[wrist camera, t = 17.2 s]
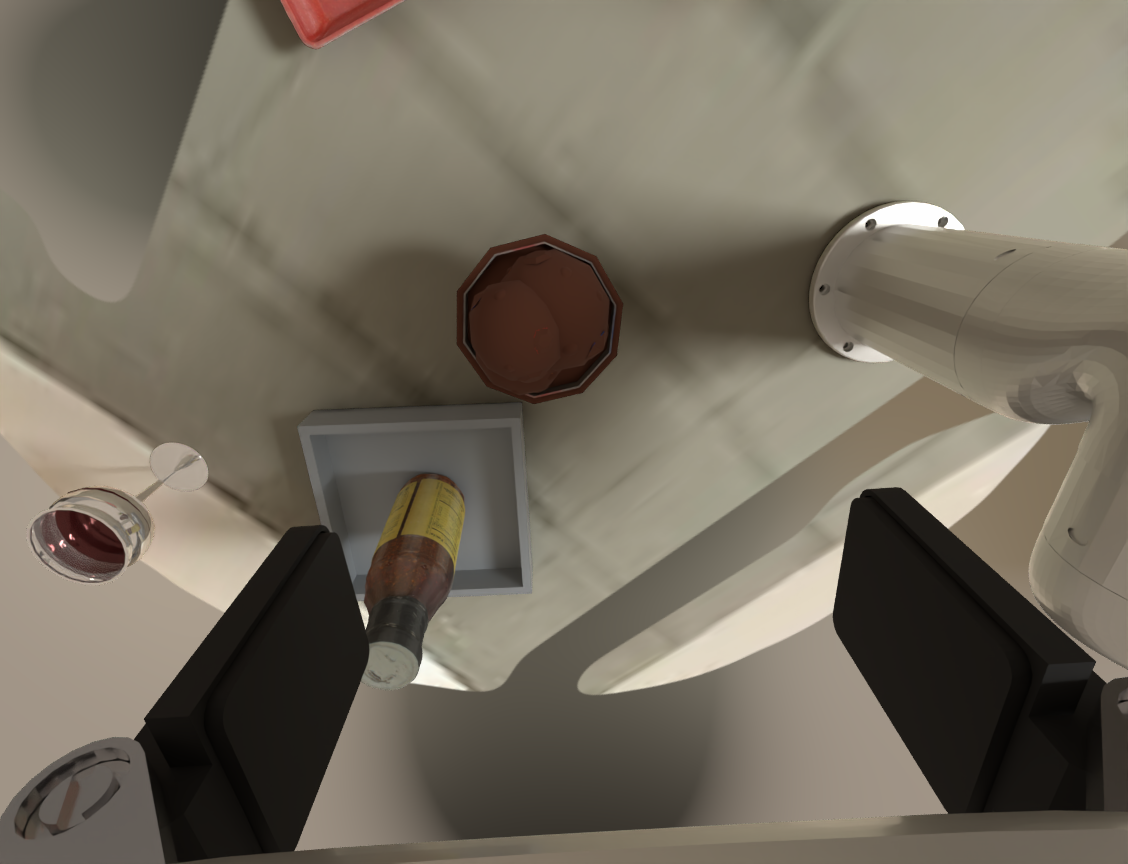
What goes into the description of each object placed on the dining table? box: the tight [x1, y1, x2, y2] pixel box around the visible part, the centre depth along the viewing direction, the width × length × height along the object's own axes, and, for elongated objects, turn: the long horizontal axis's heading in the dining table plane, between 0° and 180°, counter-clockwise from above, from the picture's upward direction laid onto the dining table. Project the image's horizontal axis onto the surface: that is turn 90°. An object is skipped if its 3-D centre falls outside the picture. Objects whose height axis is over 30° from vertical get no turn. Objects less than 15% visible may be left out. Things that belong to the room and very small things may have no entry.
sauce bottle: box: [361, 474, 465, 690], centre depth 43 cm, size 6×6×20 cm
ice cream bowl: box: [457, 234, 623, 404], centre depth 38 cm, size 11×11×15 cm
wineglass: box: [27, 442, 209, 585], centre depth 45 cm, size 7×7×12 cm
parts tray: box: [297, 402, 533, 601], centre depth 51 cm, size 18×18×4 cm
